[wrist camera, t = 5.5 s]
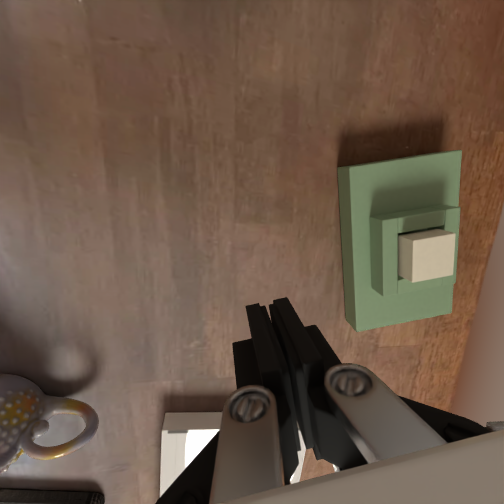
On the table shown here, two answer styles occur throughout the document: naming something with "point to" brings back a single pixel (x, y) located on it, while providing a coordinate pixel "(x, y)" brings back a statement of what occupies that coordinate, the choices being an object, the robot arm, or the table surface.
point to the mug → (36, 421)
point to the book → (194, 443)
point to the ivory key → (426, 255)
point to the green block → (395, 235)
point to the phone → (49, 497)
